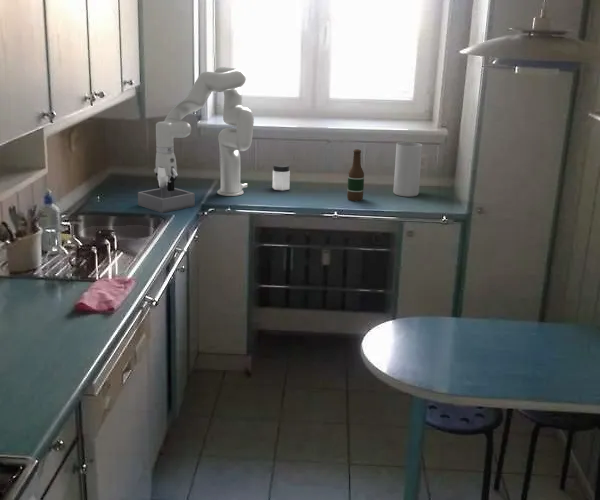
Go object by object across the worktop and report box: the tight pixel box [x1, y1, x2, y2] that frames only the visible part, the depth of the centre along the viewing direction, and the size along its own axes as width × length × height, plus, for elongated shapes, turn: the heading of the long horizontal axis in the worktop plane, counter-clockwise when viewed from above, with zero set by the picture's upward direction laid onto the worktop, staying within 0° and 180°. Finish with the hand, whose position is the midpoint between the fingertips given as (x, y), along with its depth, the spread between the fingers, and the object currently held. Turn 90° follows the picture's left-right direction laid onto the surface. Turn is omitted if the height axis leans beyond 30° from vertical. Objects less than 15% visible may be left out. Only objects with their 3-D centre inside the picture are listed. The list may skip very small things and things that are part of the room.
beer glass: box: [157, 166, 173, 199], centre depth 341 cm, size 7×7×15 cm
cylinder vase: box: [392, 141, 423, 198], centre depth 375 cm, size 12×12×25 cm
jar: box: [272, 163, 291, 191], centre depth 381 cm, size 9×8×12 cm
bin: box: [137, 187, 196, 214], centre depth 343 cm, size 18×18×6 cm
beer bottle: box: [346, 149, 365, 202], centre depth 361 cm, size 8×8×24 cm
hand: (166, 189), depth 342 cm, fingers closed on beer glass, 6 cm apart
